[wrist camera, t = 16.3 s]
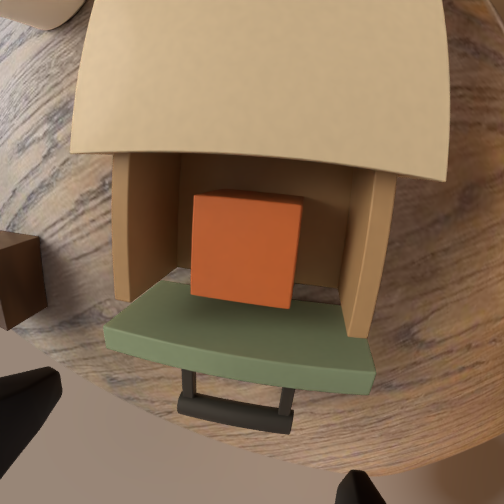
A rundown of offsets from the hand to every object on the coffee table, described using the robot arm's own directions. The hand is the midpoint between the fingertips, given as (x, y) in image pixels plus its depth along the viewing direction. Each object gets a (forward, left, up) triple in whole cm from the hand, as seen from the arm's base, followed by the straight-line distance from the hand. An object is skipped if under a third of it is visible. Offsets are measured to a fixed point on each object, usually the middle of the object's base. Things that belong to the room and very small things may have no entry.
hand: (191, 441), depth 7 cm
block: (+4, +2, -10) cm, 10 cm away
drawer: (+5, +2, -11) cm, 12 cm away
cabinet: (+16, +7, -12) cm, 21 cm away
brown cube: (-10, +18, -12) cm, 23 cm away
